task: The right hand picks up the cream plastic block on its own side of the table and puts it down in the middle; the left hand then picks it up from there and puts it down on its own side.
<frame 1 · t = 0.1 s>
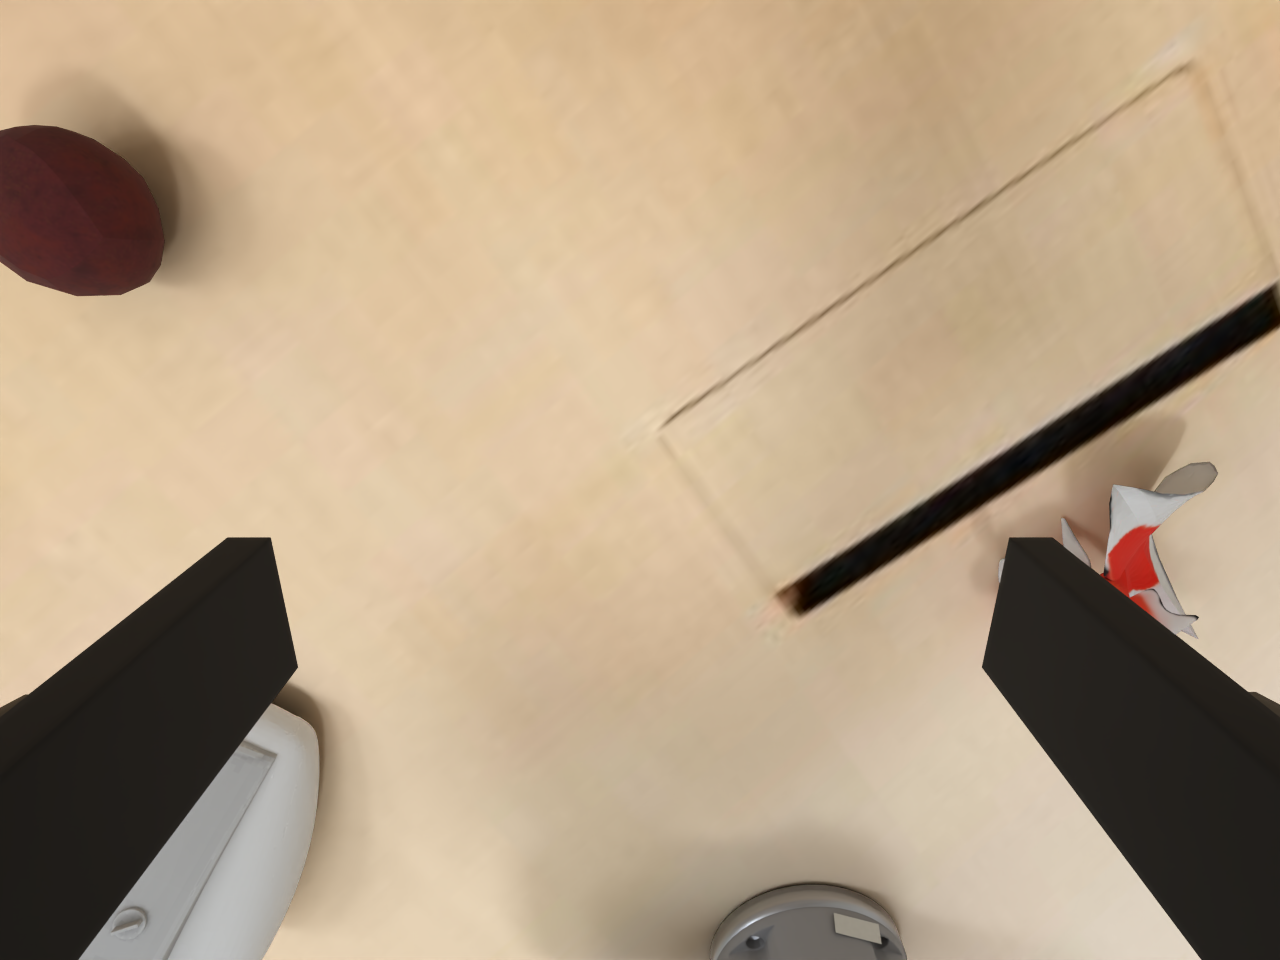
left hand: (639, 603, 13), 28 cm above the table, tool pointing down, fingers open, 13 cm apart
fish: (1064, 537, 43), on the table
projector: (217, 797, 51), on the table
dark maroon ball: (125, 216, 36), on the table
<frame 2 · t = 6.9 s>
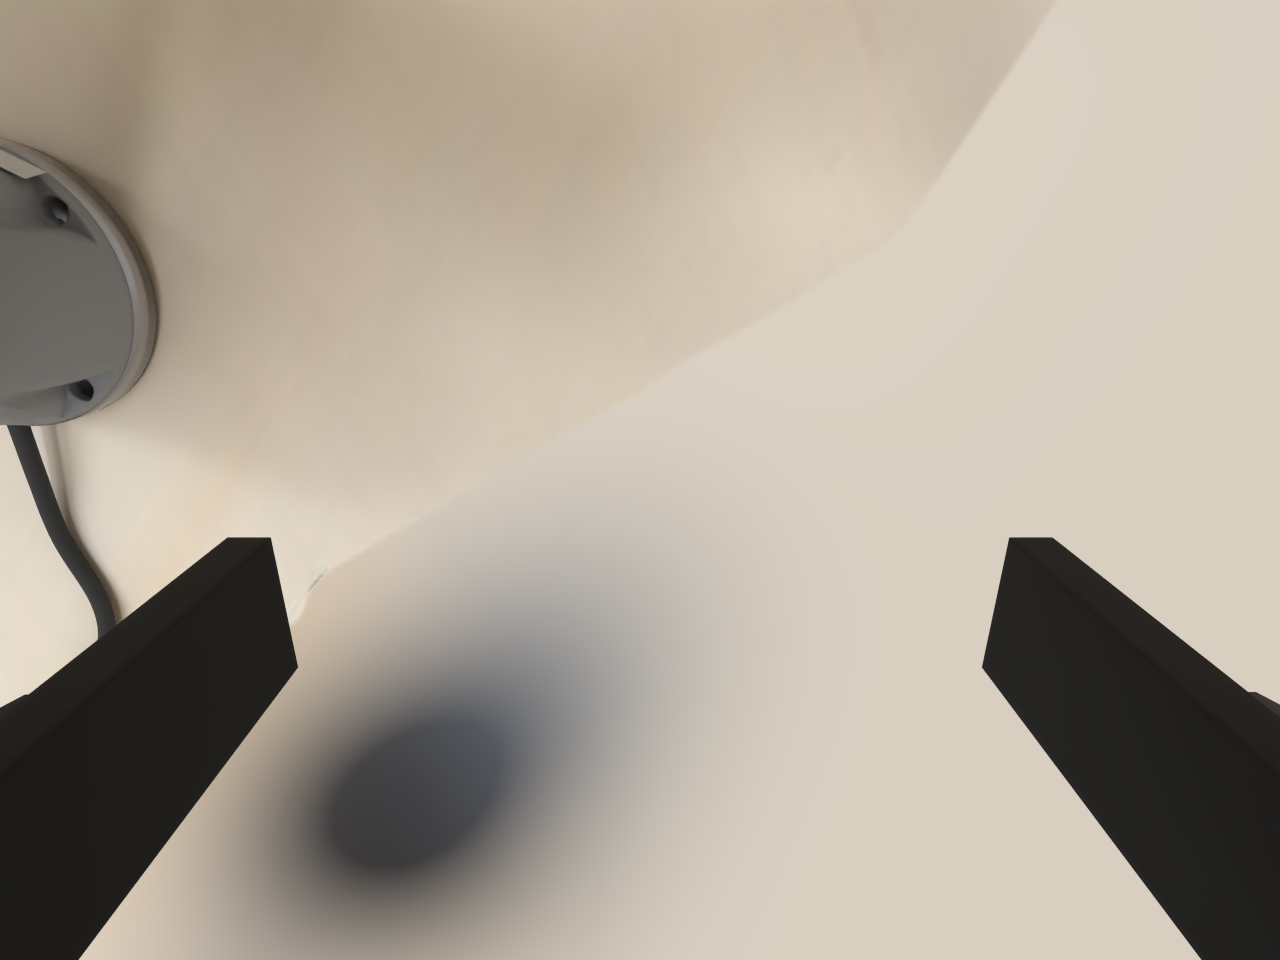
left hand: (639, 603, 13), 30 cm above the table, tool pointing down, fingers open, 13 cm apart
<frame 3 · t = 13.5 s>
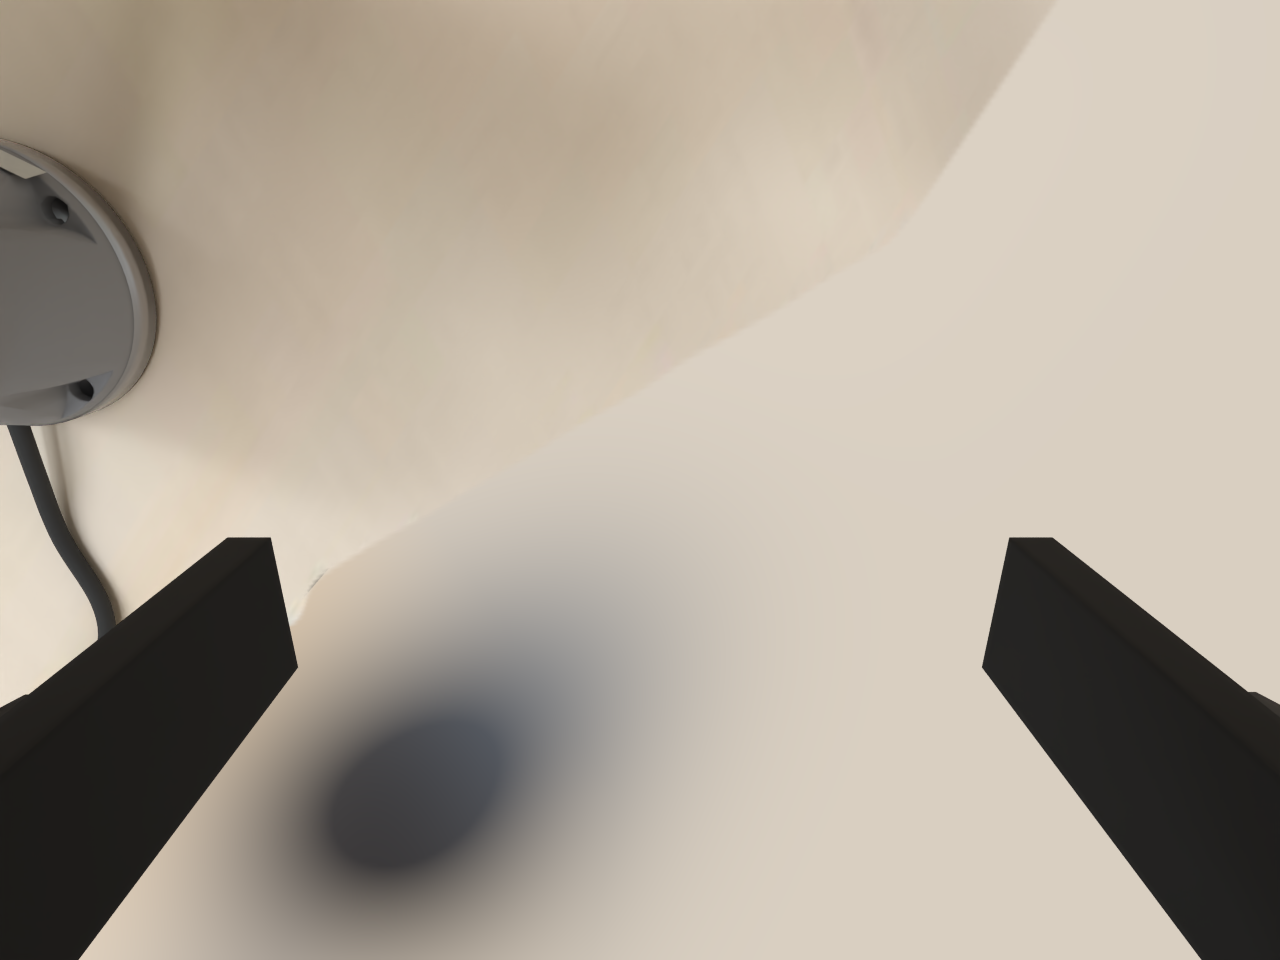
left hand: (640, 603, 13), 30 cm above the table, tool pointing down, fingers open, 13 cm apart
when the right hand's fingers open (7 cm above the table, at t = 20.4 s): block drops 2 cm, on the table.
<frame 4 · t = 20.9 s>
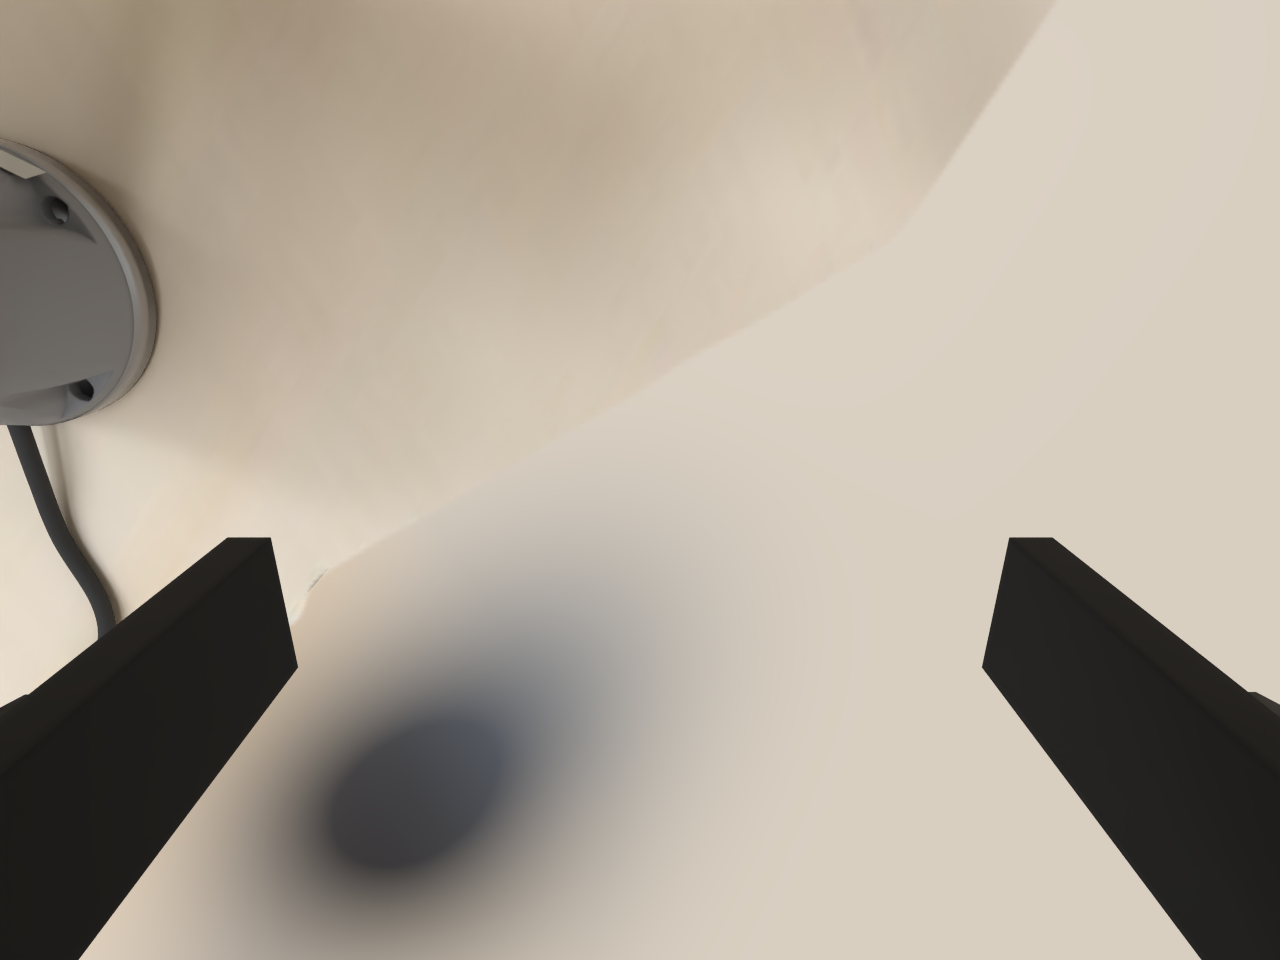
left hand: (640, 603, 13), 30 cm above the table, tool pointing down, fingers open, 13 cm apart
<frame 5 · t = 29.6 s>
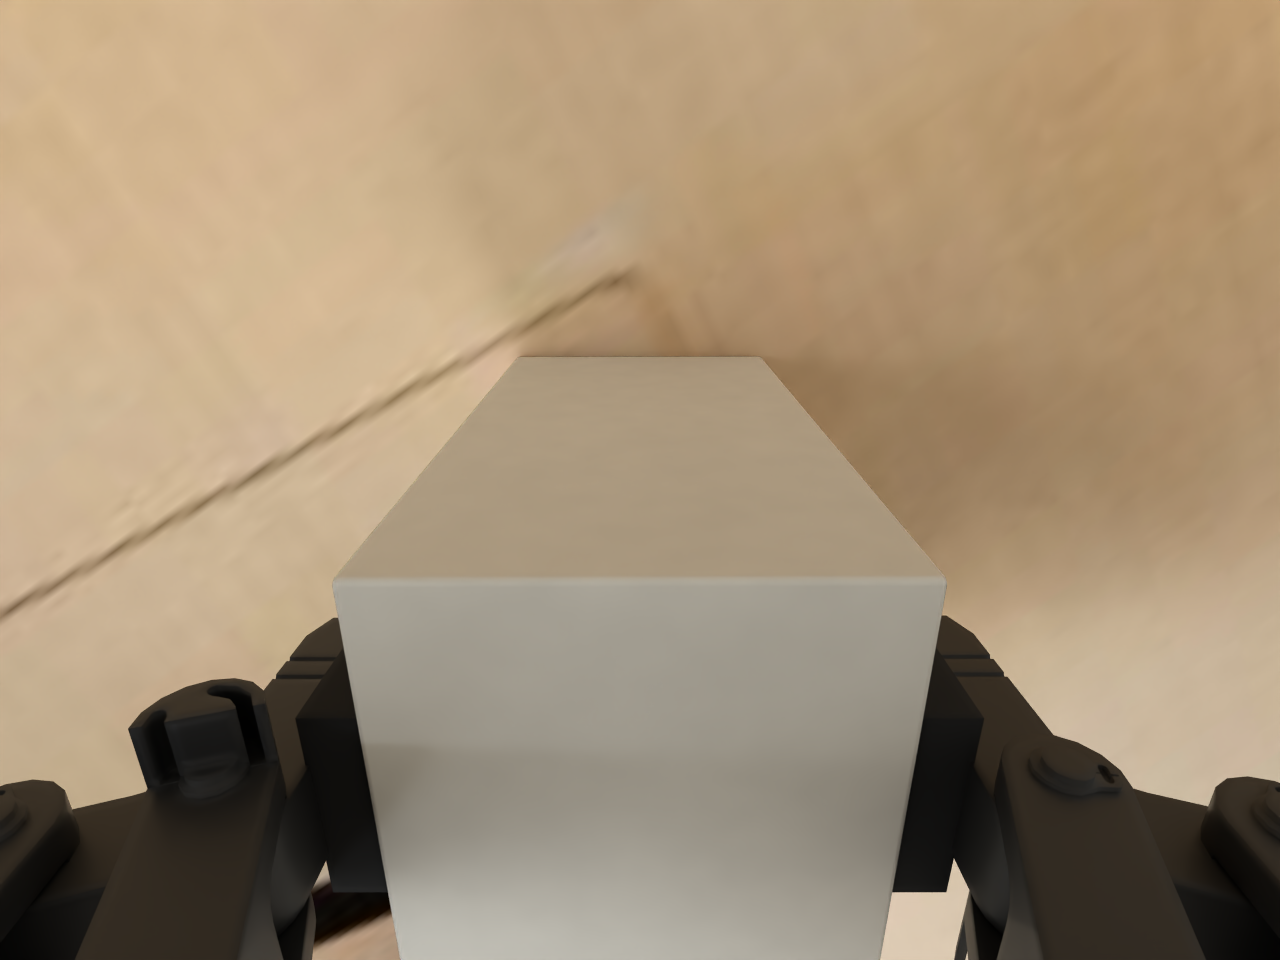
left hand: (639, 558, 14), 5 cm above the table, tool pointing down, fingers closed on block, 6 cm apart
block: (639, 475, 19), on the table, touching left hand
when the left hand's fingers open (7 cm above the table, at t = 37.1 s): block drops 2 cm, on the table.
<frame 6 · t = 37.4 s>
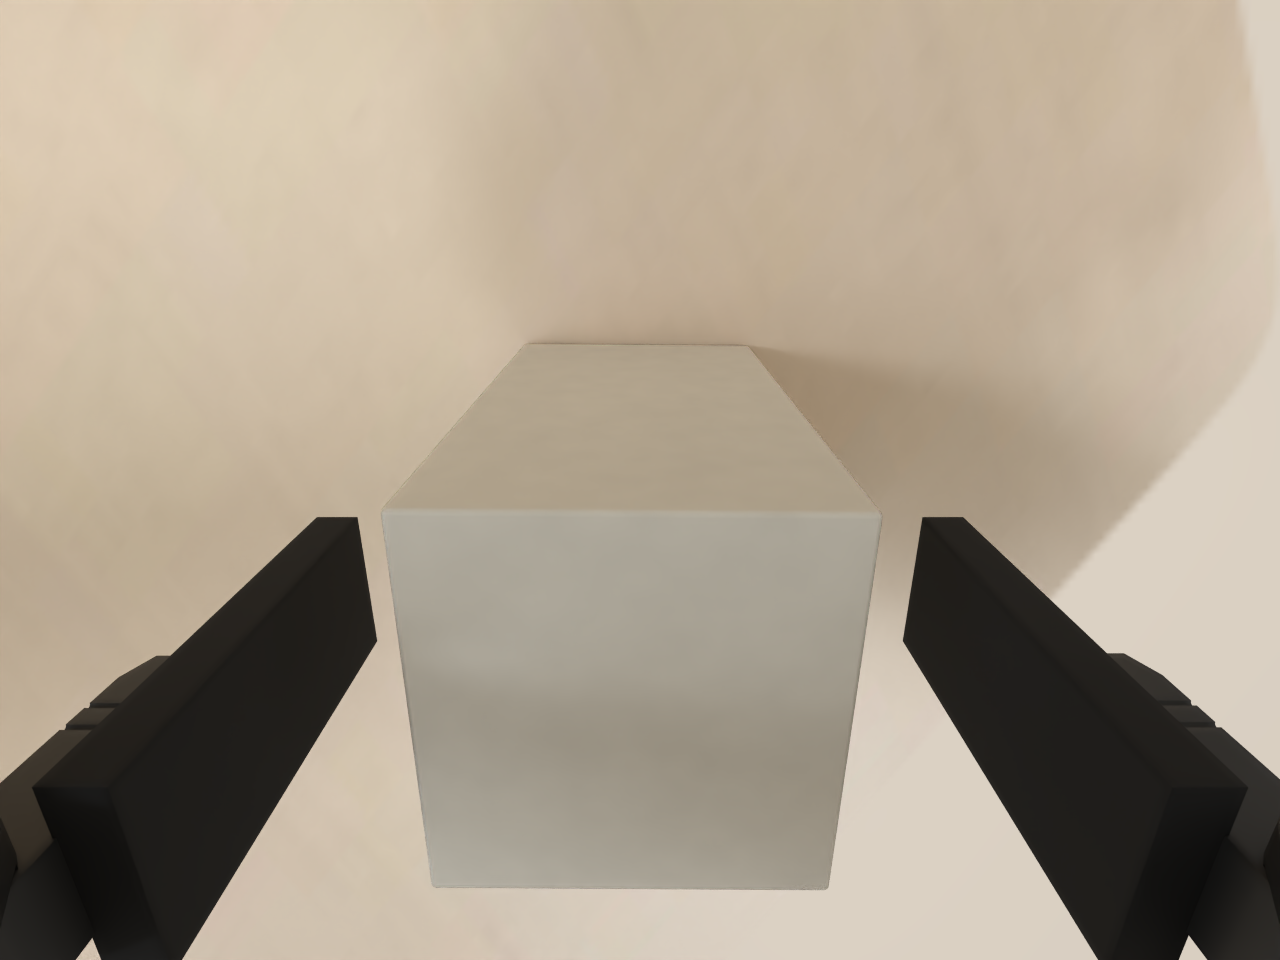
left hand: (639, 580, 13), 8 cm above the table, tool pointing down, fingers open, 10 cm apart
block: (635, 454, 21), on the table
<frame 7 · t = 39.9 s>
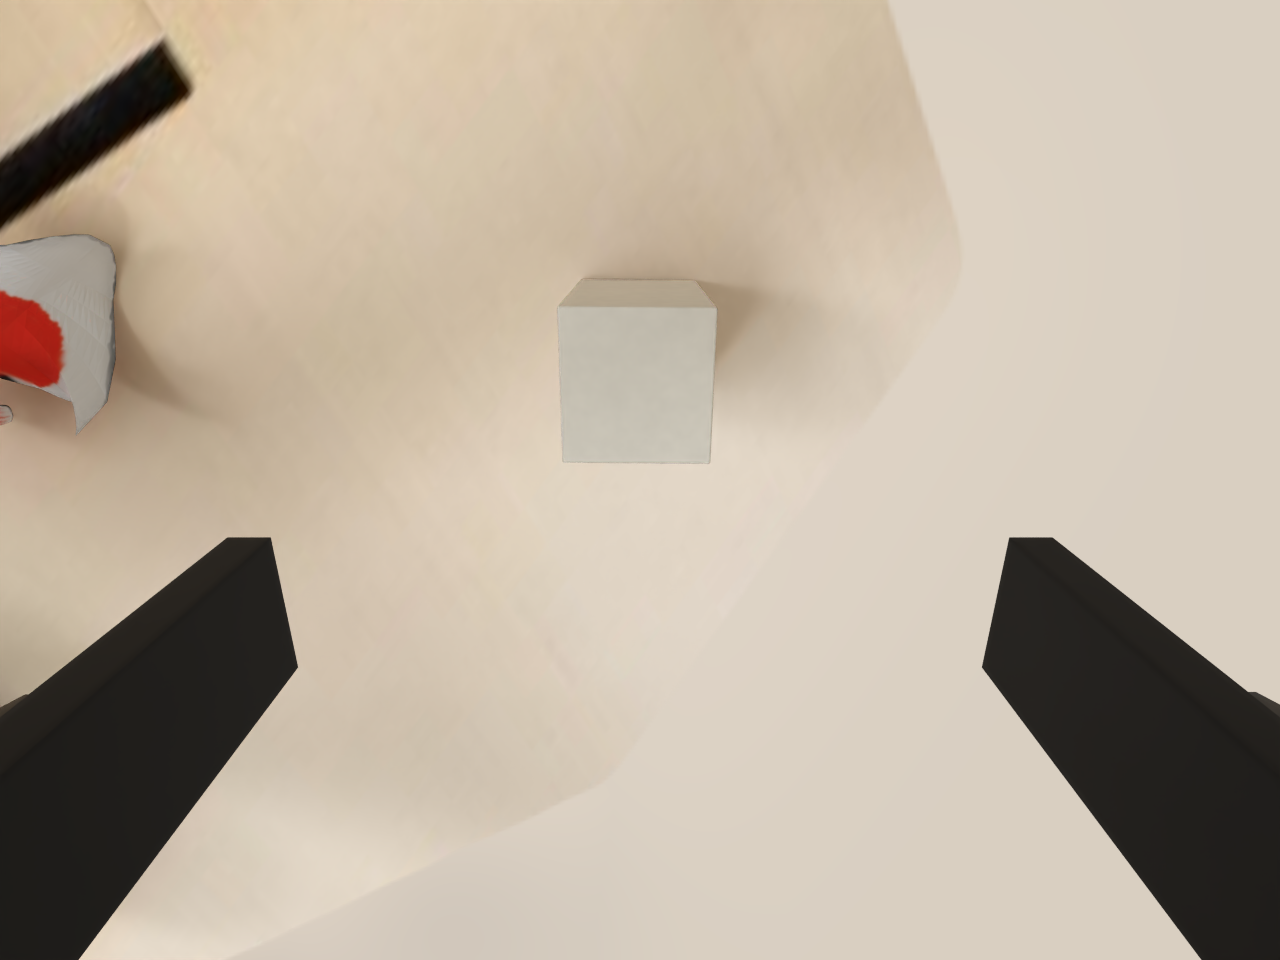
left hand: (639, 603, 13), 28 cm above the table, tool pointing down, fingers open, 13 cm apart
block: (637, 339, 39), on the table
fish: (40, 329, 39), on the table
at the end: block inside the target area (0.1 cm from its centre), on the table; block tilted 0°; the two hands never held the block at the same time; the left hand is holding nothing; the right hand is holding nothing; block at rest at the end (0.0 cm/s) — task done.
